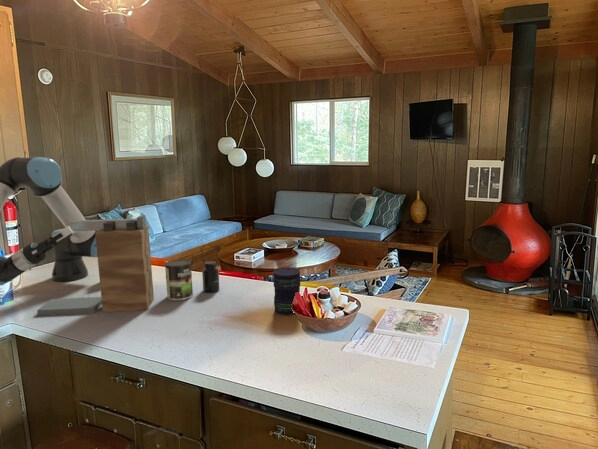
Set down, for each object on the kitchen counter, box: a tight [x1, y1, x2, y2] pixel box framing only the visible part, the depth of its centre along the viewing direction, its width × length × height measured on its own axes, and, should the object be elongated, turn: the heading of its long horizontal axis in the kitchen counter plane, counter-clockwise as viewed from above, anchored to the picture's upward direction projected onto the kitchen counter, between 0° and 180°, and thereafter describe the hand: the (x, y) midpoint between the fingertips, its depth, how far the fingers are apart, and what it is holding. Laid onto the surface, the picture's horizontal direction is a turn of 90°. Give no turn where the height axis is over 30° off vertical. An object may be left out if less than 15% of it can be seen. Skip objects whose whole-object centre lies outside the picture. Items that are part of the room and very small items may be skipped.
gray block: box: [36, 296, 102, 316], centre depth 175 cm, size 12×20×2 cm, turn 96°
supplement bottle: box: [201, 260, 220, 293], centre depth 193 cm, size 7×7×12 cm
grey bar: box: [70, 215, 147, 231], centre depth 171 cm, size 5×26×4 cm, turn 96°
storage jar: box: [272, 267, 301, 317], centre depth 168 cm, size 10×10×15 cm
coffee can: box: [164, 259, 194, 301], centre depth 185 cm, size 10×10×14 cm
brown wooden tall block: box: [95, 222, 155, 313], centre depth 174 cm, size 12×16×33 cm
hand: (78, 225), depth 169 cm, fingers open, 13 cm apart
